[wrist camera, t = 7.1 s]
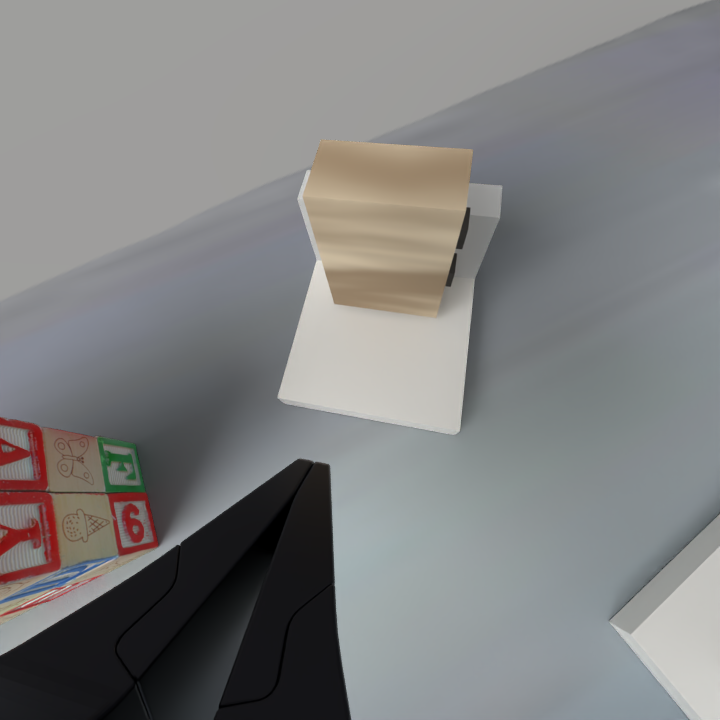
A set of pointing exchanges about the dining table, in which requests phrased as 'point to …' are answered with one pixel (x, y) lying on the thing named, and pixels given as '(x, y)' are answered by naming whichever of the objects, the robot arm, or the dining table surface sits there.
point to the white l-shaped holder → (390, 342)
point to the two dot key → (389, 222)
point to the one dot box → (681, 626)
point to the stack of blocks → (65, 512)
